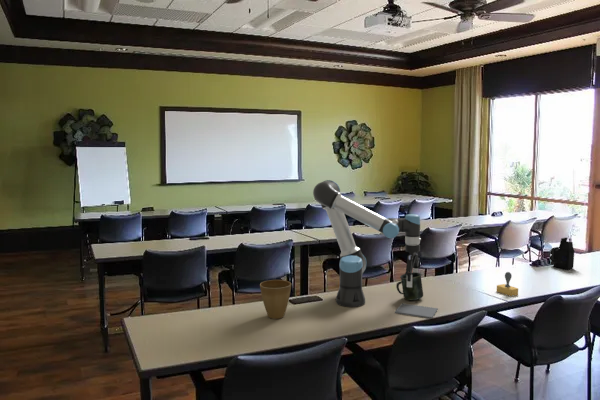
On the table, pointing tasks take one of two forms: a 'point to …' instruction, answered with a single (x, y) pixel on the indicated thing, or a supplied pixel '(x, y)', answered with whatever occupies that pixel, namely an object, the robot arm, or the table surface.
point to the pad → (416, 310)
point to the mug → (416, 289)
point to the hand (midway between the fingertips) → (412, 283)
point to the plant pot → (275, 297)
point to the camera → (563, 255)
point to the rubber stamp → (507, 286)
